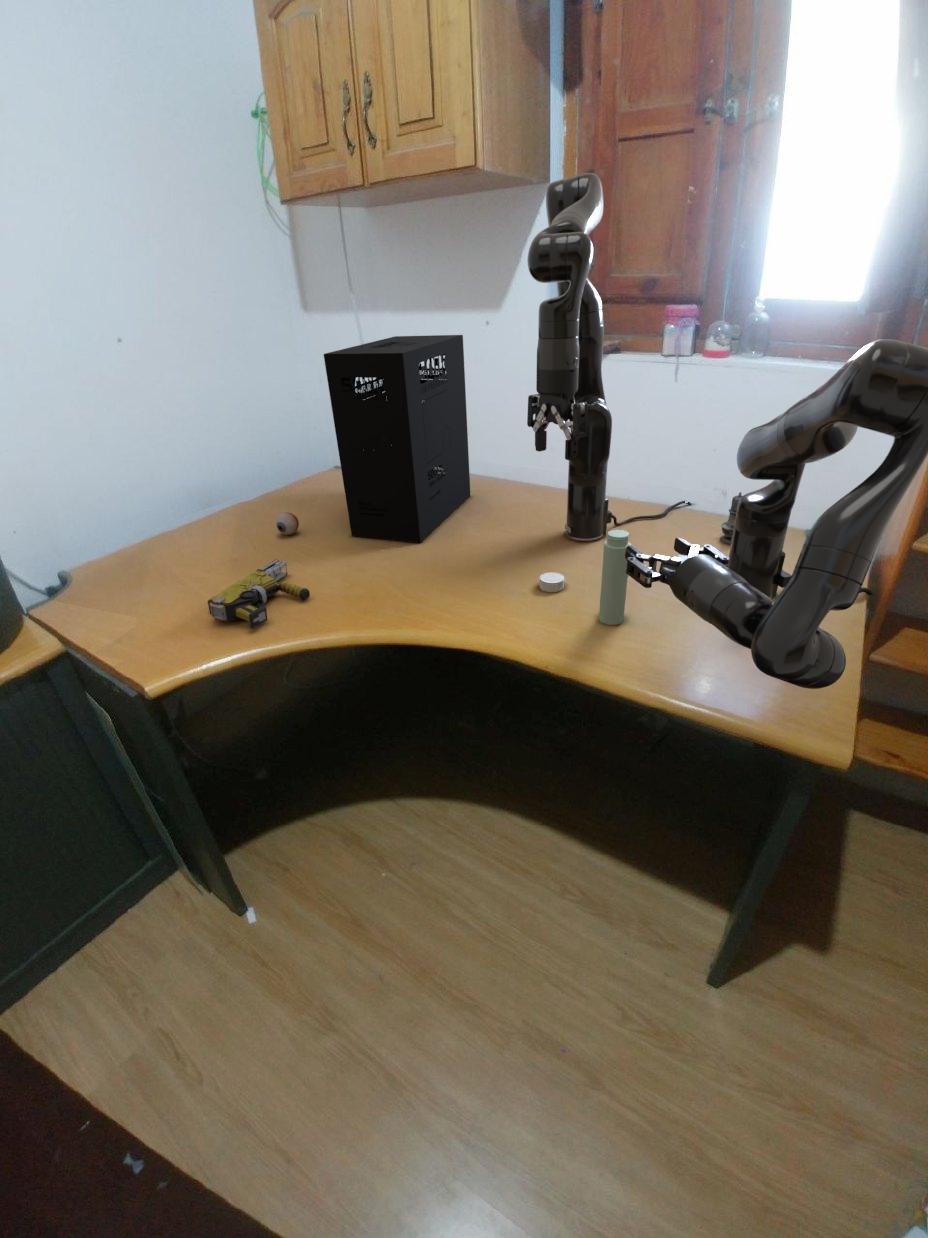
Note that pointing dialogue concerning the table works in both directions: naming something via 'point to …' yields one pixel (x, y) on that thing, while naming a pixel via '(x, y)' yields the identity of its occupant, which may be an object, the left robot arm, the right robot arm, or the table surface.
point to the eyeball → (287, 523)
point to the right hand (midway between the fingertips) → (652, 546)
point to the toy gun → (253, 595)
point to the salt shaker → (730, 521)
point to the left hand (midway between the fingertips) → (555, 454)
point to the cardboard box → (401, 434)
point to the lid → (551, 582)
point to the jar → (614, 578)
